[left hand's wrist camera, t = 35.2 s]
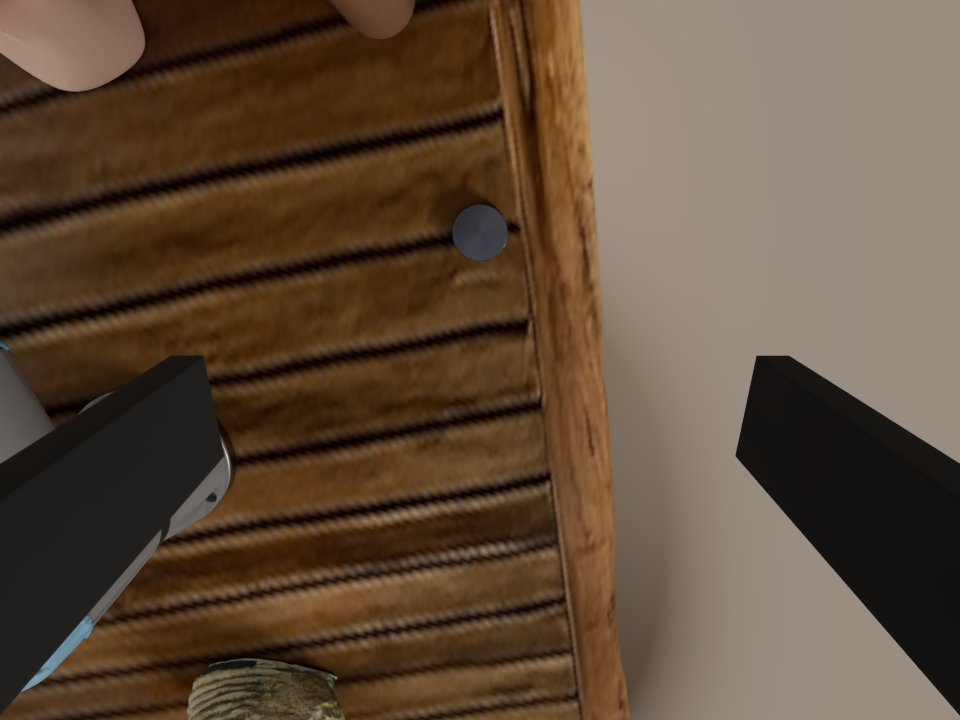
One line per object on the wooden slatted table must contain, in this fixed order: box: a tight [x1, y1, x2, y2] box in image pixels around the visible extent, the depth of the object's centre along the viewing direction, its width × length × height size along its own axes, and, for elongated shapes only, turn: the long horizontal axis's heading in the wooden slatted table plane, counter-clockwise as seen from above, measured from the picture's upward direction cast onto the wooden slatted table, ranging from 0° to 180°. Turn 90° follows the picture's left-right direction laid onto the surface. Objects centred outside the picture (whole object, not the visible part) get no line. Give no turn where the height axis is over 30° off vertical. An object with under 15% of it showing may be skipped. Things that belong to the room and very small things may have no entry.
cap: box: [452, 202, 508, 261], centre depth 43 cm, size 5×5×2 cm
